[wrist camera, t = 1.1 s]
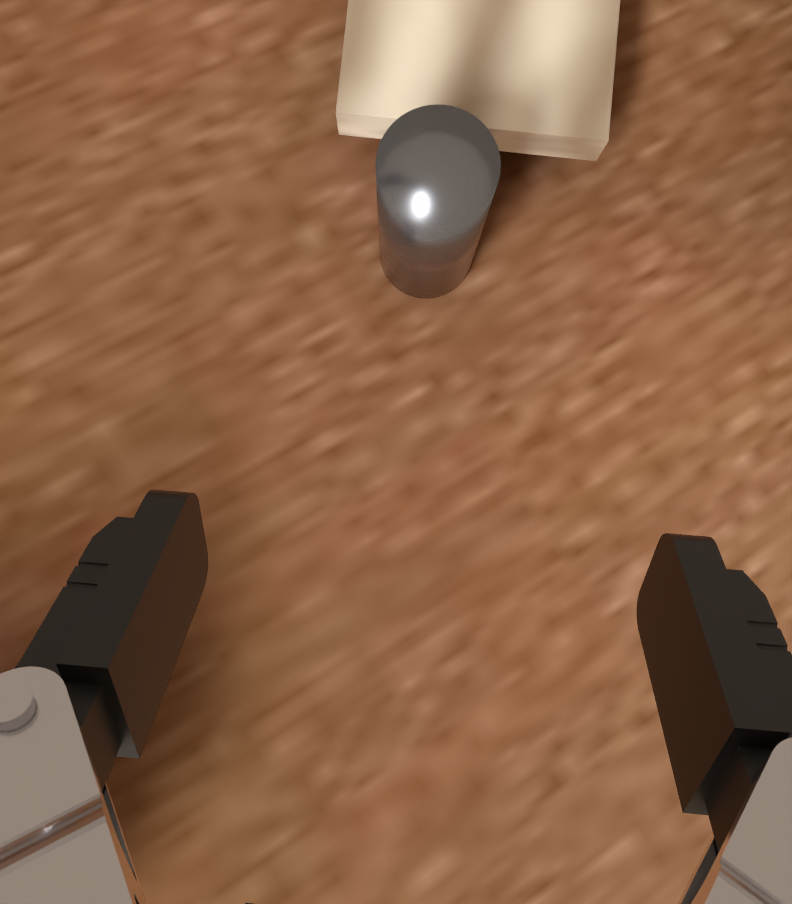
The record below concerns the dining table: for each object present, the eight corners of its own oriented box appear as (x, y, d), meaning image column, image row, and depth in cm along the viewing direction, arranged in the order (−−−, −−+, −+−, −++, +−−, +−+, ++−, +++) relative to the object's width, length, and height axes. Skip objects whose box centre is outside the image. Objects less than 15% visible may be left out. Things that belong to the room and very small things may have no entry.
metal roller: (375, 293, 38) (369, 218, 28) (384, 203, 38) (382, 98, 28) (467, 302, 38) (494, 231, 28) (476, 212, 38) (506, 111, 28)
